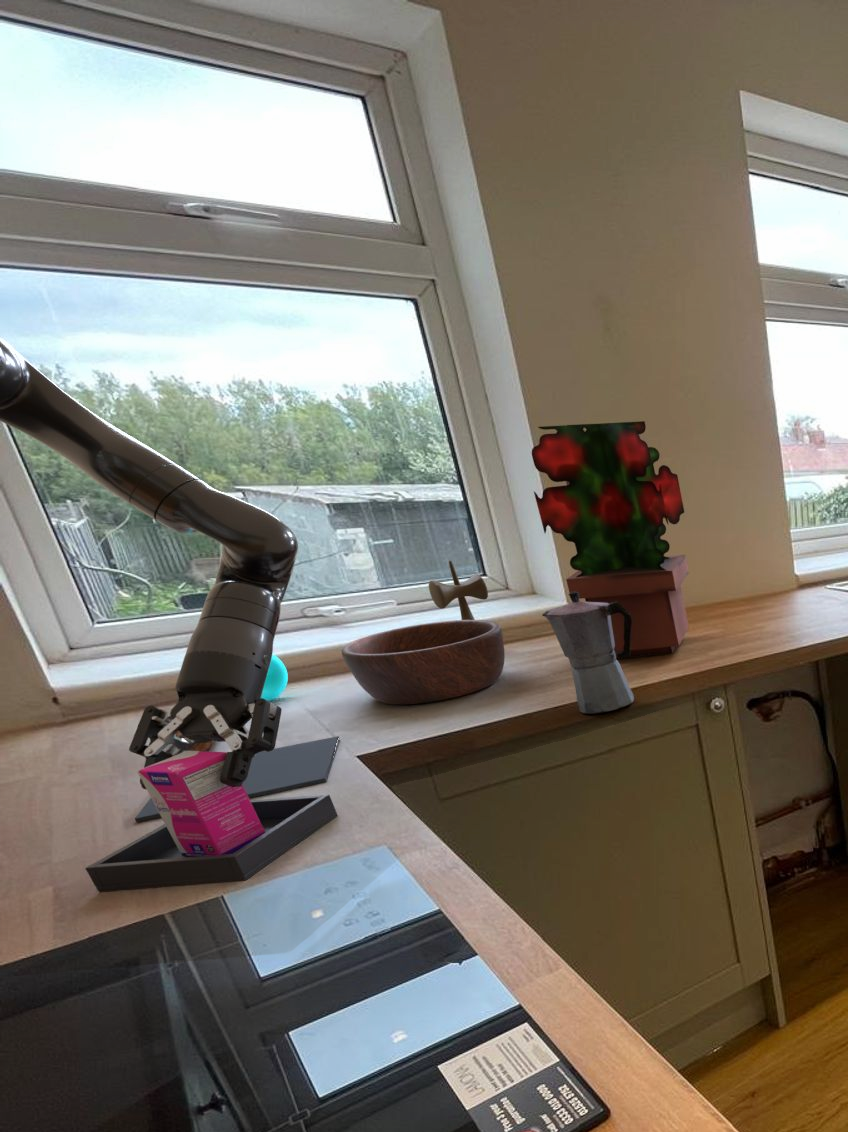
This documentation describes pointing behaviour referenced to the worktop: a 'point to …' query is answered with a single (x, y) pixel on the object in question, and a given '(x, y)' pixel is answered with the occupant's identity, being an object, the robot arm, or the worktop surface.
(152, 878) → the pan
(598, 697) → the moka pot
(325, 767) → the mat
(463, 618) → the kendama
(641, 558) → the potted plant
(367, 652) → the wooden bowl
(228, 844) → the supplement box
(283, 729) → the worktop surface
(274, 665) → the donuts
